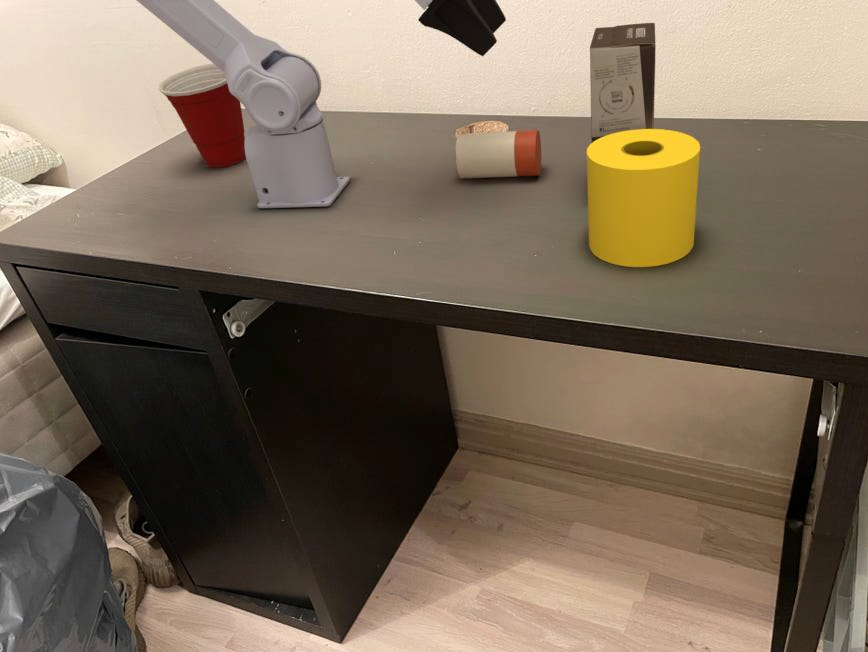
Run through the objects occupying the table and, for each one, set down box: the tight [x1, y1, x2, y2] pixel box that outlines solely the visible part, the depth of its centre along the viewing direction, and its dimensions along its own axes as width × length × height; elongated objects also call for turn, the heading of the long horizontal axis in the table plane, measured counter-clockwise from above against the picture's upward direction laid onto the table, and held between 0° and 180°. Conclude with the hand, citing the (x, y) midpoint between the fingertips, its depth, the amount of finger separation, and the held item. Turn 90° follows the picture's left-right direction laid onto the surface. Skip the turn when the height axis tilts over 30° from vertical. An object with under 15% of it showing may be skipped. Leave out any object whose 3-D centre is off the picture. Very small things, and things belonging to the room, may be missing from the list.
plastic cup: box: [157, 63, 246, 168], centre depth 102 cm, size 11×11×12 cm
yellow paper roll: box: [586, 128, 701, 268], centre depth 69 cm, size 10×10×9 cm
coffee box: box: [589, 22, 656, 143], centre depth 79 cm, size 9×6×16 cm
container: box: [455, 129, 542, 179], centre depth 88 cm, size 5×5×10 cm
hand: (494, 37), depth 79 cm, fingers open, 7 cm apart
